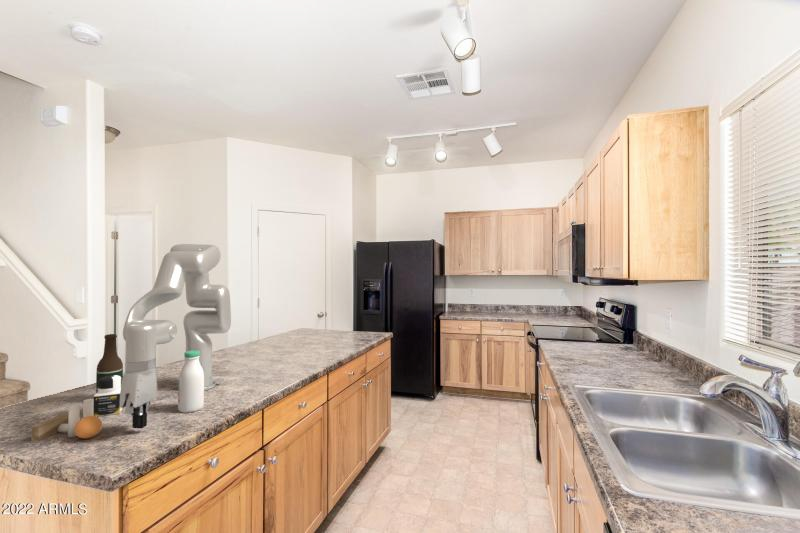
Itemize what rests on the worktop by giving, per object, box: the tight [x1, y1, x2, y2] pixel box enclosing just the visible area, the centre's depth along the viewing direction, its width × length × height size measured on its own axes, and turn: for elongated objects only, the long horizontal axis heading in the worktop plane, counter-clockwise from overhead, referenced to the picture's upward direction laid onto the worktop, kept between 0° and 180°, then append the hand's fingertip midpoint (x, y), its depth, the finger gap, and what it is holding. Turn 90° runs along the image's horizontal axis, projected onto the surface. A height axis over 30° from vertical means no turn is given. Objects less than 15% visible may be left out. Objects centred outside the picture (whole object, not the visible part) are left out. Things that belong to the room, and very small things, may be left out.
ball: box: [75, 416, 103, 439], centre depth 106 cm, size 6×6×6 cm
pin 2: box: [82, 398, 94, 419], centre depth 112 cm, size 2×2×8 cm
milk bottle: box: [177, 350, 205, 413], centre depth 128 cm, size 8×8×20 cm
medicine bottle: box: [93, 375, 124, 417], centre depth 125 cm, size 7×7×12 cm
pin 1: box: [67, 404, 81, 438], centre depth 107 cm, size 2×2×8 cm
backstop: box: [31, 410, 69, 442], centre depth 109 cm, size 2×12×4 cm, turn 1°
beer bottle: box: [95, 333, 124, 394], centre depth 137 cm, size 8×8×24 cm
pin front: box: [57, 424, 68, 433], centre depth 109 cm, size 2×2×8 cm
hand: (139, 427), depth 110 cm, fingers closed
